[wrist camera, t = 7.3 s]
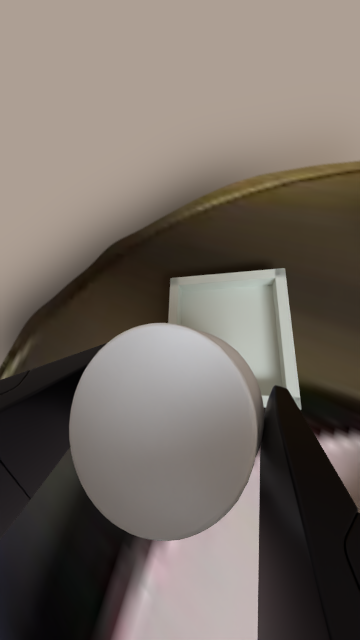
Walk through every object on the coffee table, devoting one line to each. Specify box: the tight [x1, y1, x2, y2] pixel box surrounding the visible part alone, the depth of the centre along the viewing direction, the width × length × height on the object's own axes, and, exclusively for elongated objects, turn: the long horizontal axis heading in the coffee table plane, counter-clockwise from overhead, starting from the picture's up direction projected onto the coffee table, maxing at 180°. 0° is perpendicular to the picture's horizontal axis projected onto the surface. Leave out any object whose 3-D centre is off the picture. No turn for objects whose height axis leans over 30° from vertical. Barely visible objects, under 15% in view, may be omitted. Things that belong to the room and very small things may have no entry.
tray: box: [168, 268, 301, 410], centre depth 18 cm, size 11×10×2 cm
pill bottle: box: [69, 323, 264, 541], centre depth 9 cm, size 6×6×10 cm
